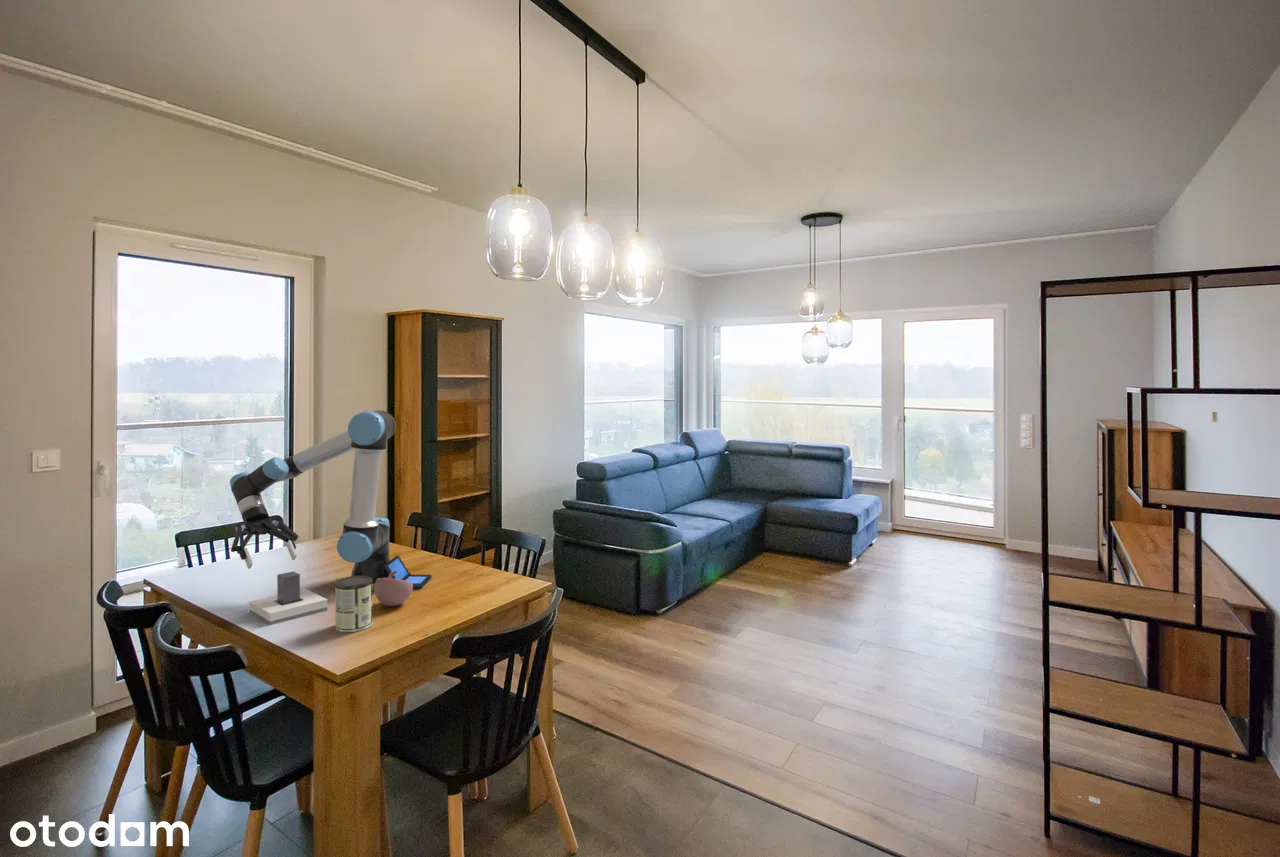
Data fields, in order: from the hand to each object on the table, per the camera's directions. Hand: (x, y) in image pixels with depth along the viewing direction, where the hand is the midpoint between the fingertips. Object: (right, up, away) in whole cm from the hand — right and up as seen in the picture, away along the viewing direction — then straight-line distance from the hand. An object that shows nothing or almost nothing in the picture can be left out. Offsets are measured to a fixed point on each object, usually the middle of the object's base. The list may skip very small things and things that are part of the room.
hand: (273, 562), depth 202 cm
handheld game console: (+36, -14, +24) cm, 46 cm away
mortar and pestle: (+40, -15, +1) cm, 43 cm away
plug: (+9, -13, -7) cm, 18 cm away
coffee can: (+36, -16, -18) cm, 43 cm away
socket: (+9, -14, -7) cm, 18 cm away
